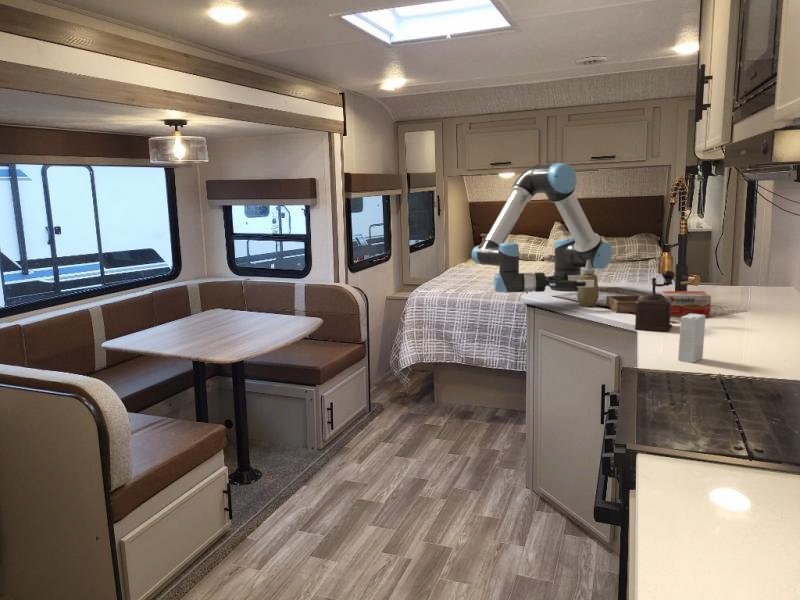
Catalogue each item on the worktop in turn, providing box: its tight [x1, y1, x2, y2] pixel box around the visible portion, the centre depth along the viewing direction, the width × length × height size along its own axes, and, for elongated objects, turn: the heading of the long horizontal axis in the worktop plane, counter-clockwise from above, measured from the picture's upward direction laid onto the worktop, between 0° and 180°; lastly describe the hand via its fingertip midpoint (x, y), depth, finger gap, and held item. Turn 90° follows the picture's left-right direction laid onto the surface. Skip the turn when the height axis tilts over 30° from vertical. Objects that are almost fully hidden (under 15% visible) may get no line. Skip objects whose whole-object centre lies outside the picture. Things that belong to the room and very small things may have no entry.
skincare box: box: [677, 314, 706, 364], centre depth 165 cm, size 6×4×12 cm
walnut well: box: [605, 294, 644, 314], centre depth 234 cm, size 13×13×4 cm
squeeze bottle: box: [576, 260, 600, 308], centre depth 242 cm, size 8×8×18 cm
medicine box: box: [660, 290, 712, 318], centre depth 222 cm, size 15×8×8 cm, turn 78°
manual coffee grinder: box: [634, 270, 676, 333], centre depth 204 cm, size 16×11×18 cm
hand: (589, 280), depth 242 cm, fingers open, 13 cm apart
